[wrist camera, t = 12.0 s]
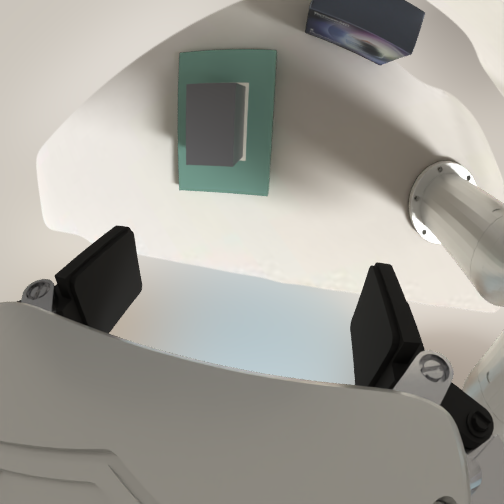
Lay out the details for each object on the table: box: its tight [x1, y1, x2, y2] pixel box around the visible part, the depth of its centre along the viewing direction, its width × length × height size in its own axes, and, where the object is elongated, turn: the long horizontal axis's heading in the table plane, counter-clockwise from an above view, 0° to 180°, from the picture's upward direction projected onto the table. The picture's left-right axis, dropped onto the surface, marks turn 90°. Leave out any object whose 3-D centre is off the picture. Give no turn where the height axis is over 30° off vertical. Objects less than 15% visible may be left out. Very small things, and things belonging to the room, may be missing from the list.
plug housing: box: [186, 83, 246, 167], centre depth 29 cm, size 5×9×6 cm, turn 178°
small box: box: [305, 0, 425, 65], centre depth 20 cm, size 11×6×10 cm, turn 72°
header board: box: [178, 49, 277, 196], centre depth 32 cm, size 12×19×2 cm, turn 178°
